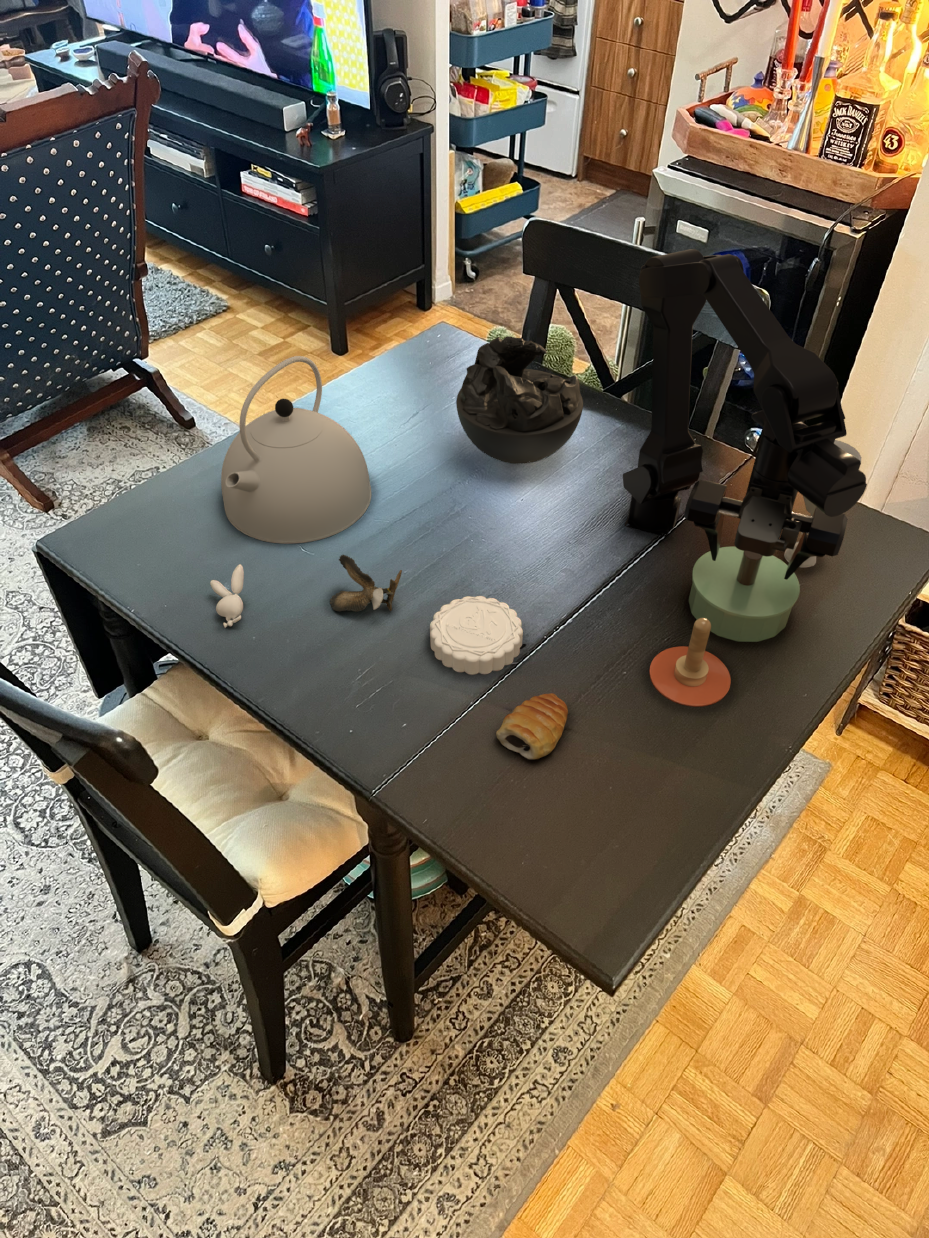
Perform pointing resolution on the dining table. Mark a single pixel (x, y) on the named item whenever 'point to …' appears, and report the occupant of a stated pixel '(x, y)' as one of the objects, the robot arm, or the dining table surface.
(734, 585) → the pot lid
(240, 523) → the kettle
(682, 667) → the pestle
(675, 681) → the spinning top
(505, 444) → the bowl of black rocks
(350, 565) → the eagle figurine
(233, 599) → the rabbit figurine
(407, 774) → the dining table surface
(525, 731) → the pastry
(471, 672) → the mooncake
